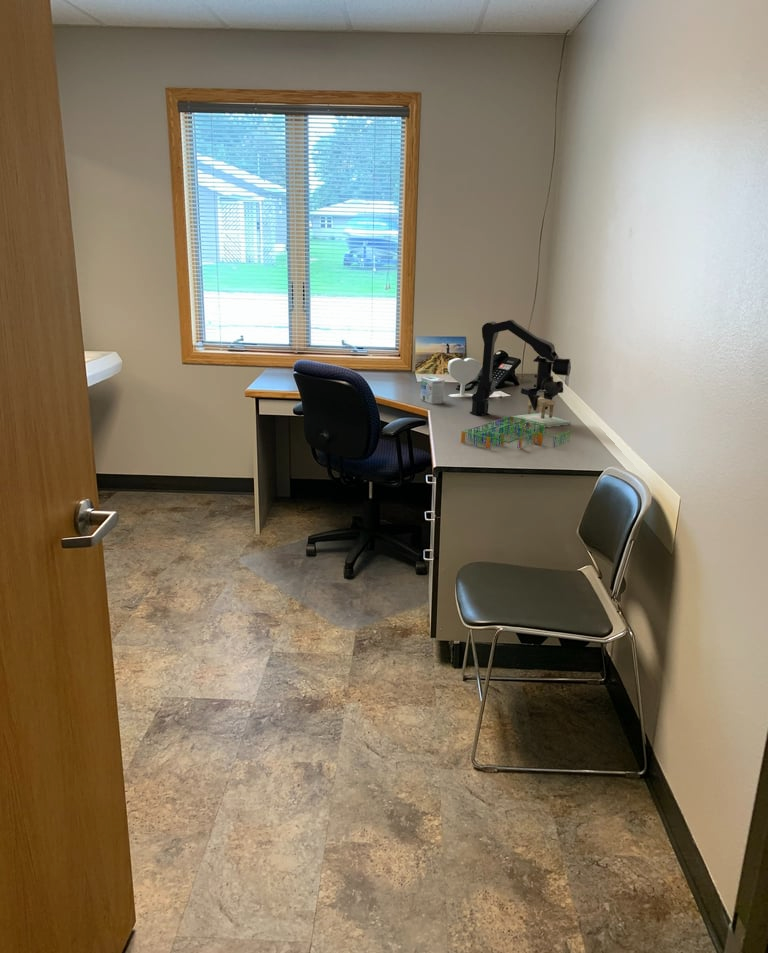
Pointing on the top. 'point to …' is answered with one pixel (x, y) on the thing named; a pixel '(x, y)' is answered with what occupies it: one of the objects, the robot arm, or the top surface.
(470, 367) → the heart sculpture
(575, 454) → the top surface
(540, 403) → the maple stool
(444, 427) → the top surface
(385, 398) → the top surface
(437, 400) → the light bulb box
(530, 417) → the sage board
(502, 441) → the house model
